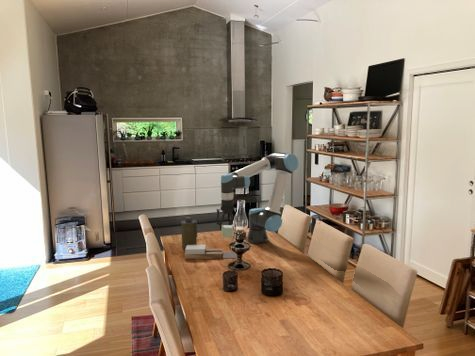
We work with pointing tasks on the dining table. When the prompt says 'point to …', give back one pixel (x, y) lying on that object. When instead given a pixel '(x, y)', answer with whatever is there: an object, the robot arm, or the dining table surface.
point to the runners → (206, 254)
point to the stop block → (227, 230)
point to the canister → (189, 232)
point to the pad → (229, 255)
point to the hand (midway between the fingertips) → (227, 235)
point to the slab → (195, 249)
